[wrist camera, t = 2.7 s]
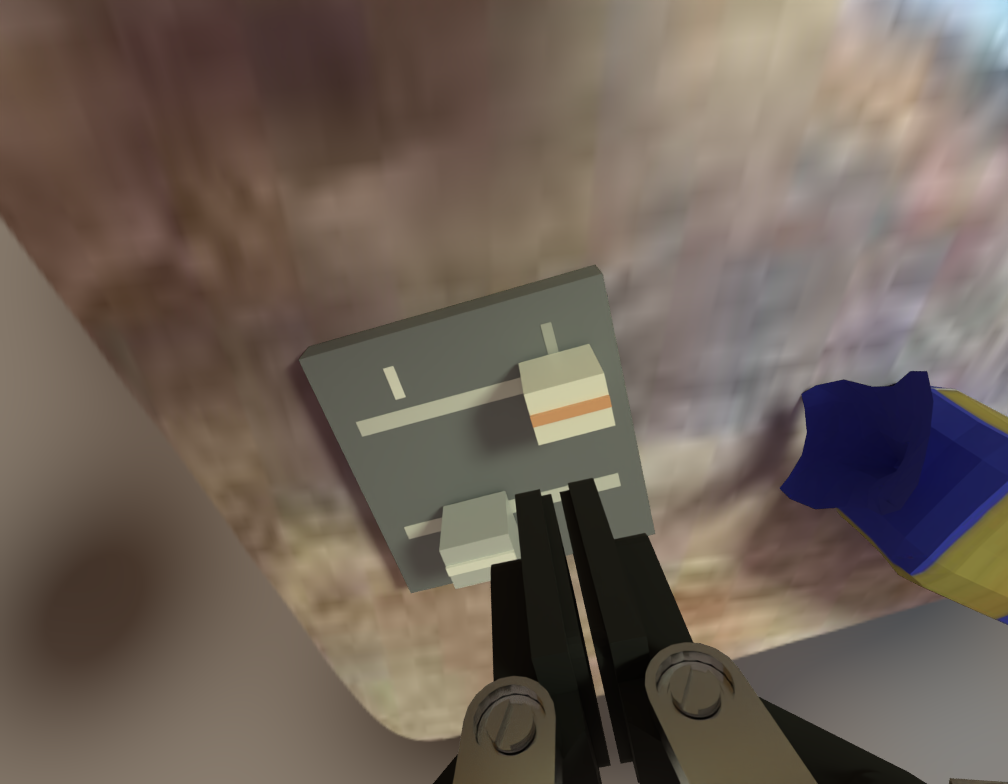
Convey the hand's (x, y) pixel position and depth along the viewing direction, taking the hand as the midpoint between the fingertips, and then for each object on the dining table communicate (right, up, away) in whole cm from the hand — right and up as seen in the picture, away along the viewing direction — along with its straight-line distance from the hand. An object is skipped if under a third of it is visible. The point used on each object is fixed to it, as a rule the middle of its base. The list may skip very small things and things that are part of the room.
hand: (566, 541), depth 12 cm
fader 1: (-3, -5, +23) cm, 24 cm away
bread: (+28, -2, +26) cm, 38 cm away
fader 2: (+2, +4, +19) cm, 20 cm away
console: (-2, 0, +23) cm, 24 cm away
